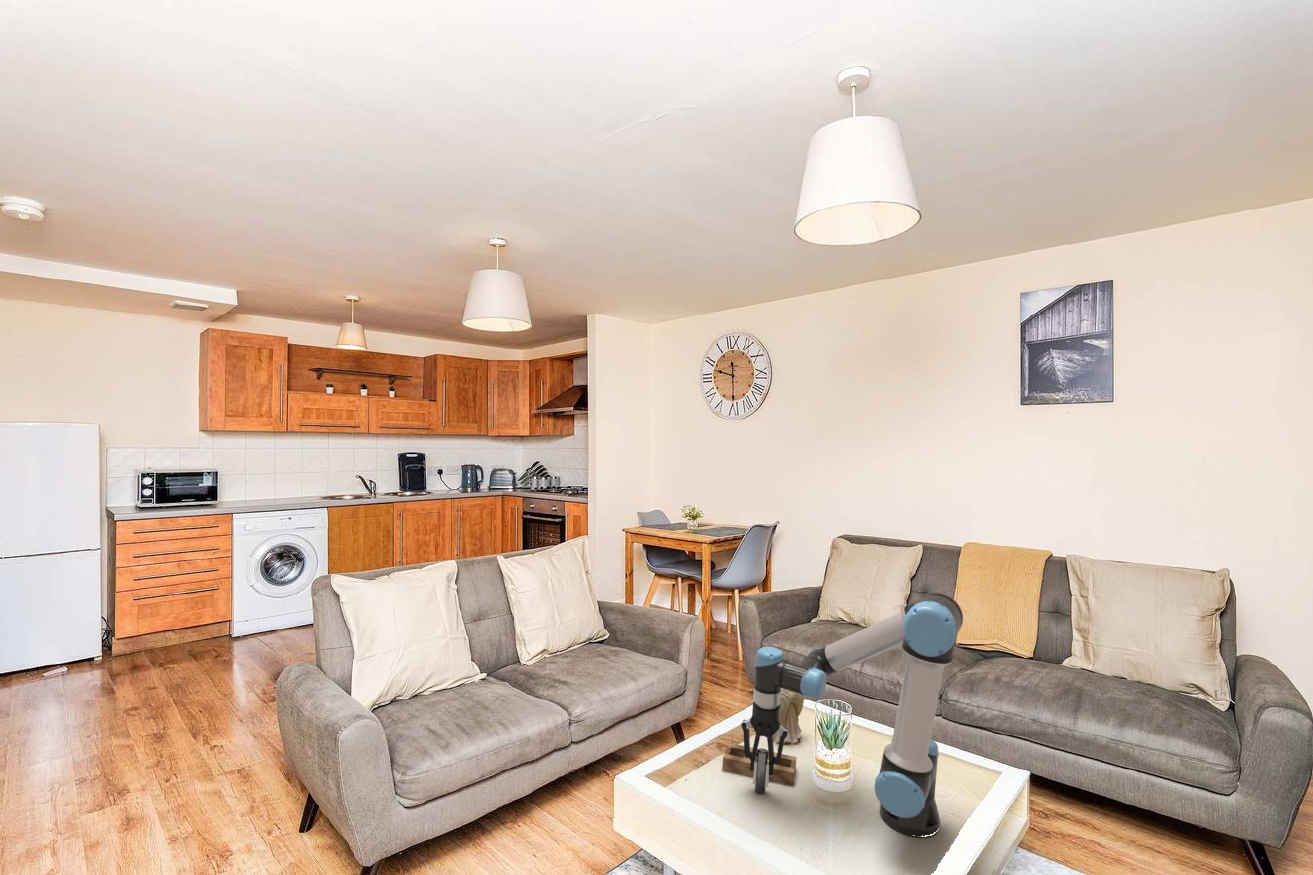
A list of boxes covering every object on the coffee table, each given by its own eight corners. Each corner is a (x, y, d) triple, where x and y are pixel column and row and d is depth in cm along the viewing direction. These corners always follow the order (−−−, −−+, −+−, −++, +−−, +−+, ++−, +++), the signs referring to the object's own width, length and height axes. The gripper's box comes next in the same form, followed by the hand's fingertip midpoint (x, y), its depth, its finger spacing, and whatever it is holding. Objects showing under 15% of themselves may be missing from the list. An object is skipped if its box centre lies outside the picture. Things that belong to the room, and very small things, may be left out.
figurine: (769, 725, 224) (773, 668, 222) (803, 732, 220) (807, 675, 219) (763, 741, 212) (767, 682, 211) (799, 749, 208) (804, 689, 207)
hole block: (795, 769, 197) (796, 757, 196) (792, 785, 188) (793, 772, 188) (727, 755, 203) (728, 742, 203) (722, 770, 194) (723, 757, 194)
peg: (765, 789, 185) (768, 749, 185) (764, 795, 183) (767, 754, 182) (755, 787, 186) (758, 747, 186) (753, 793, 183) (756, 752, 183)
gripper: (795, 702, 184) (790, 782, 186) (741, 692, 189) (735, 770, 190) (793, 714, 177) (787, 797, 178) (736, 703, 182) (731, 784, 183)
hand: (760, 782), depth 184 cm, fingers closed on peg, 3 cm apart
